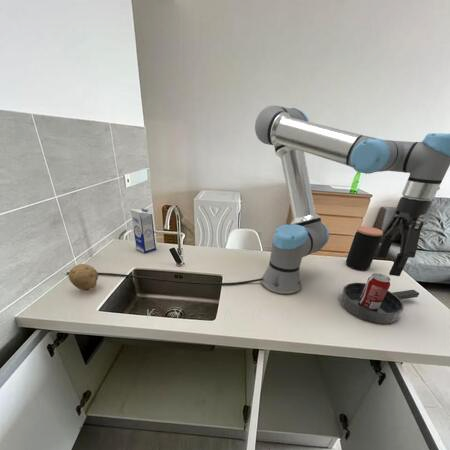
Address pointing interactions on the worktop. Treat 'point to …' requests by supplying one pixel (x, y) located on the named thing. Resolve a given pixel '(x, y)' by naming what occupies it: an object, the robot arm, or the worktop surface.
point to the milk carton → (143, 230)
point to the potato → (83, 277)
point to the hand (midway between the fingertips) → (387, 265)
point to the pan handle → (404, 294)
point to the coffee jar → (363, 248)
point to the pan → (383, 315)
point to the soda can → (374, 291)
